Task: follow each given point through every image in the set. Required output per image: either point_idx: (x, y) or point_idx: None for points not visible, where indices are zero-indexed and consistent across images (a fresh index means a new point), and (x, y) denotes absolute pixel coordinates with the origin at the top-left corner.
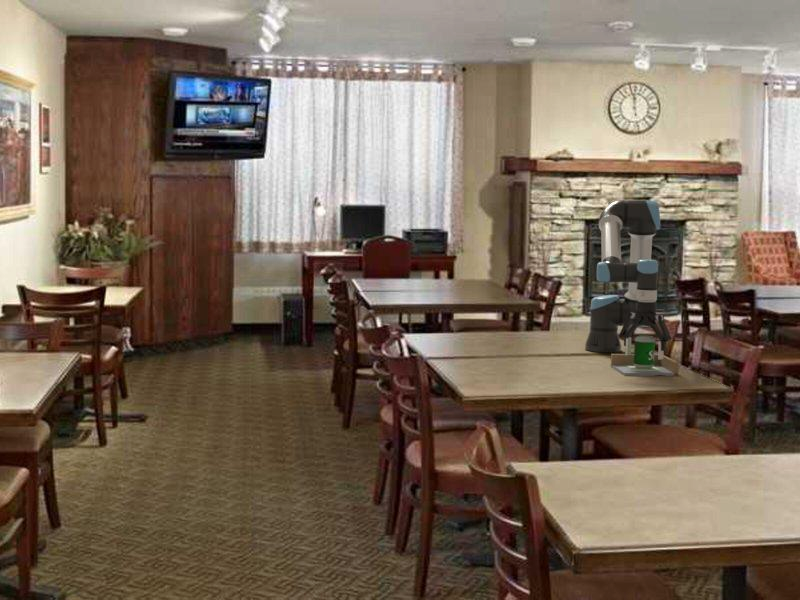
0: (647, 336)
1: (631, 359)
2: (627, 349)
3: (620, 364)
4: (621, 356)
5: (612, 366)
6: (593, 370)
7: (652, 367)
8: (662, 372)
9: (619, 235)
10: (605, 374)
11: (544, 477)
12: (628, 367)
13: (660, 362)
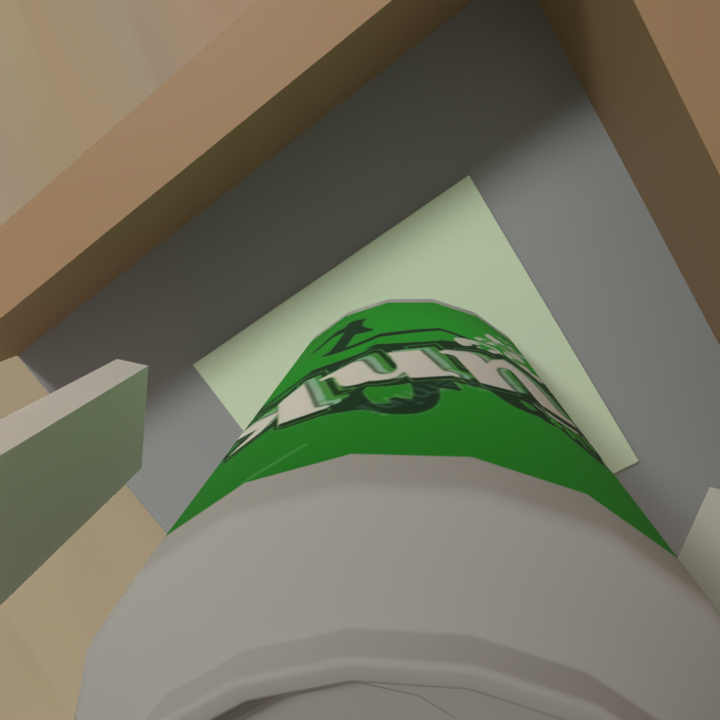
0: (433, 662)
1: (154, 221)
2: (85, 522)
3: (86, 299)
4: (19, 314)
5: (50, 378)
6: (10, 595)
7: (495, 305)
8: (671, 546)
9: None
10: None
11: None
12: (240, 430)
13: (565, 8)
